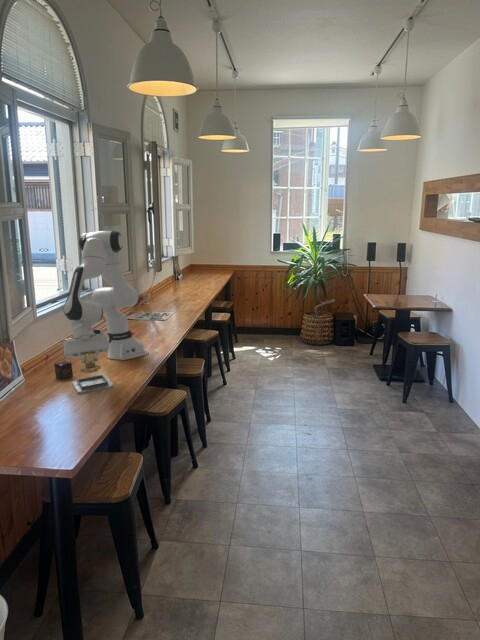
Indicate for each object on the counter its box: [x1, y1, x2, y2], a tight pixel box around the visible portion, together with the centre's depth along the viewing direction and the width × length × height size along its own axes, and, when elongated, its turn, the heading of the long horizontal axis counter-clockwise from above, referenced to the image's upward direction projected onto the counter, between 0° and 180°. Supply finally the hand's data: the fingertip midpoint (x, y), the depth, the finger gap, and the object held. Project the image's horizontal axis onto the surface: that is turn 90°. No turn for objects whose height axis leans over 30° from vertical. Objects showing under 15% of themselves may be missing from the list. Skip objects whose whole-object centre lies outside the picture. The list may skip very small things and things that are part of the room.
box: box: [53, 360, 74, 380], centre depth 239 cm, size 6×6×7 cm
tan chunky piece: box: [80, 352, 101, 374], centre depth 224 cm, size 9×8×8 cm
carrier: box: [71, 374, 115, 395], centre depth 227 cm, size 16×16×2 cm
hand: (90, 361), depth 223 cm, fingers closed on tan chunky piece, 4 cm apart
